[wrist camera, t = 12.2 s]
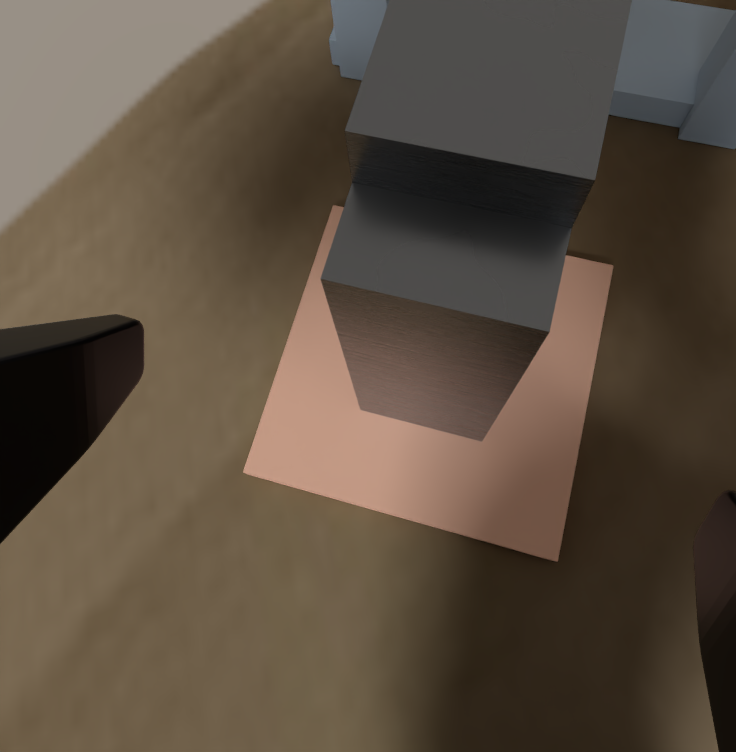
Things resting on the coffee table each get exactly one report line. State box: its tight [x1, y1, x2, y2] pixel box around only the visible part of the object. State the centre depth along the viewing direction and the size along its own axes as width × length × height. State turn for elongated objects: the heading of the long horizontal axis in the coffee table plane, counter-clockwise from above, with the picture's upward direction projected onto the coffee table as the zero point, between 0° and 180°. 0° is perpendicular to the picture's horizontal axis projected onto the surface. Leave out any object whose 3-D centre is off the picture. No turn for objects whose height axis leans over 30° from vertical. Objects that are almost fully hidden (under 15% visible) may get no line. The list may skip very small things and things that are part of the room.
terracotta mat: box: [243, 205, 614, 562], centre depth 20 cm, size 10×10×1 cm
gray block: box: [320, 0, 632, 442], centre depth 15 cm, size 4×7×11 cm, turn 164°
